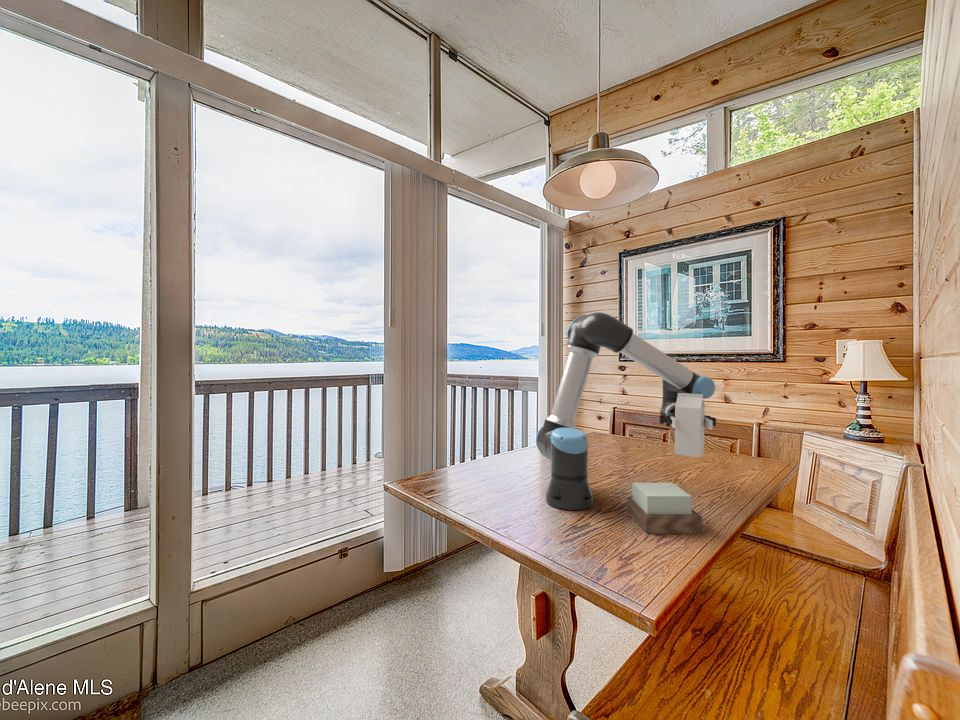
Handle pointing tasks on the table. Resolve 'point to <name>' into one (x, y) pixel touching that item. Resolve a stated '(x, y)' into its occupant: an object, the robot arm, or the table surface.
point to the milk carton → (689, 425)
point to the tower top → (661, 498)
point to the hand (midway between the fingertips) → (693, 424)
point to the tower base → (664, 520)
